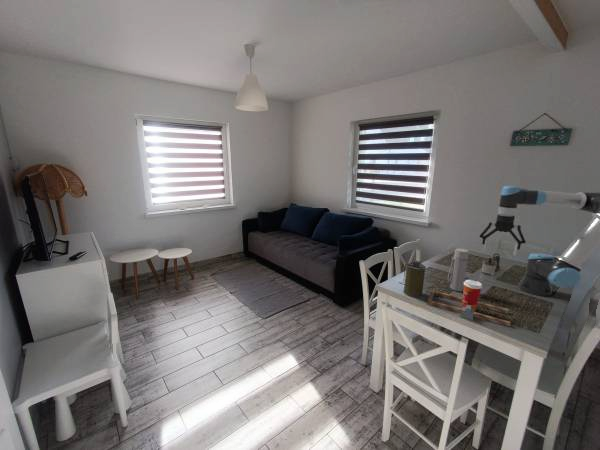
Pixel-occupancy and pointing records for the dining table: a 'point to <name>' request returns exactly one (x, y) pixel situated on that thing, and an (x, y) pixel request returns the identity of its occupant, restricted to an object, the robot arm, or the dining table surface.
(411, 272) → the canister
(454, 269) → the water bottle
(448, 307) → the brown piece
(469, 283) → the coffee cup
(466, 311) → the block
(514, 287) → the dining table surface
